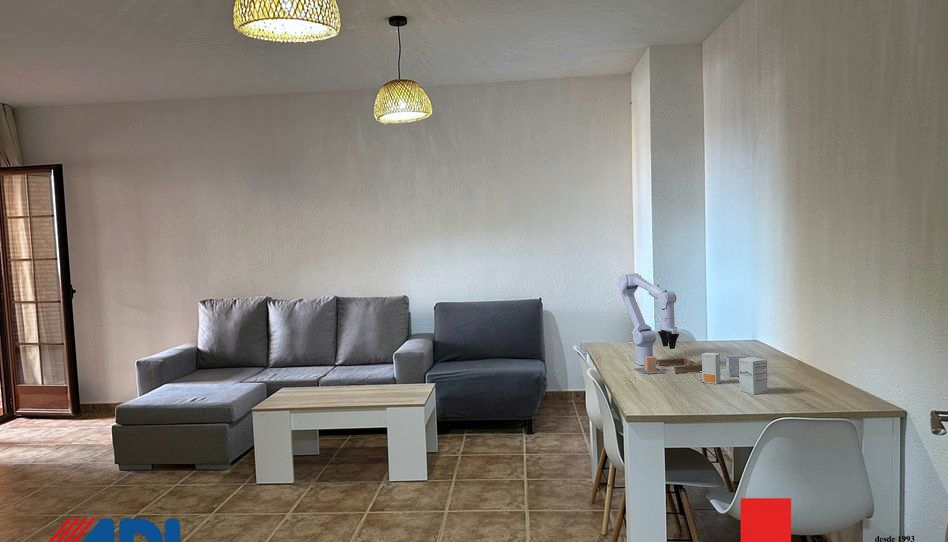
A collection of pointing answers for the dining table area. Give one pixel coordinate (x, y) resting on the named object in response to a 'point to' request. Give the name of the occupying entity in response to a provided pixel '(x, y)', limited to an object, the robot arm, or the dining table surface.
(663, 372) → the grey mat
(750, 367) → the supplement box
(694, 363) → the open side frame
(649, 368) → the terracotta block
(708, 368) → the skincare box
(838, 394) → the dining table surface
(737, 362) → the medicine box
